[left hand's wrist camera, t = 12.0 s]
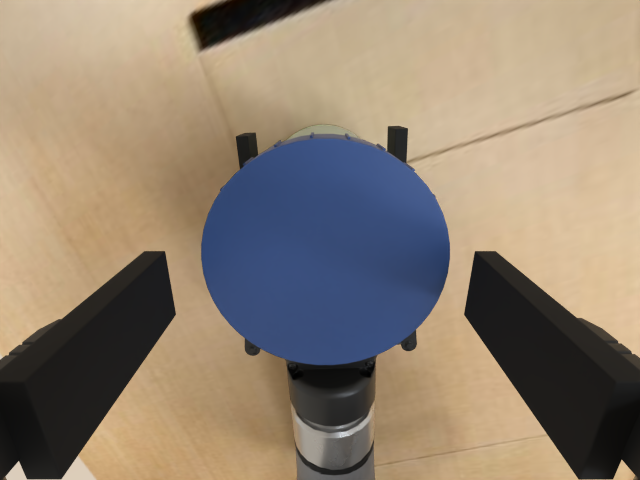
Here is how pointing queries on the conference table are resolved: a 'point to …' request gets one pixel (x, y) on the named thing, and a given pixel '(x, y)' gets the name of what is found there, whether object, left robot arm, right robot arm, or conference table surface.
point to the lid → (325, 250)
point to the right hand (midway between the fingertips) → (321, 131)
